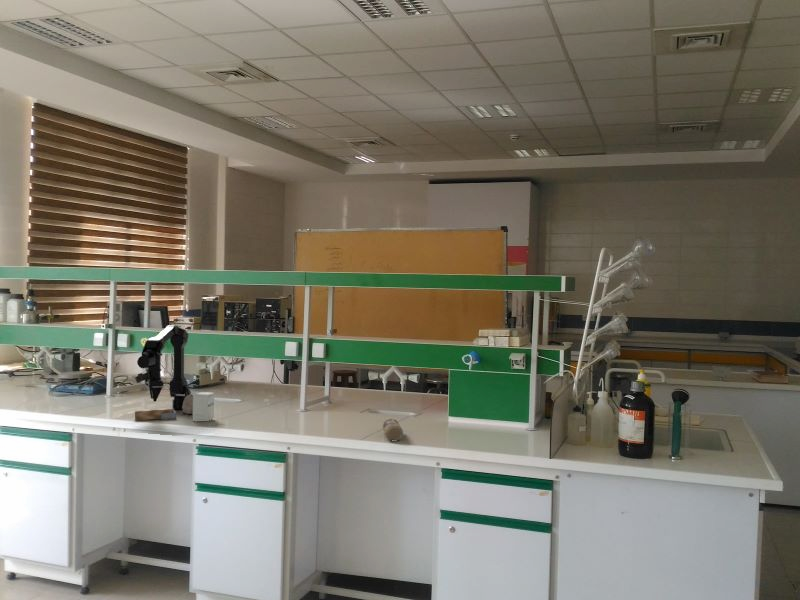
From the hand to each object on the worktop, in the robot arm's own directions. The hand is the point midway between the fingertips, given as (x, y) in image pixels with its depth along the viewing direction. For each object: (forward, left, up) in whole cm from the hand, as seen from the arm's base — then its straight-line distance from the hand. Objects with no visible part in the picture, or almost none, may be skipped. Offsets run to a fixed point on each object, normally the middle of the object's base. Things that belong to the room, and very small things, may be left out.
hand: (153, 399), depth 338 cm
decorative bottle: (-89, +71, -9) cm, 115 cm away
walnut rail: (0, 0, -8) cm, 9 cm away
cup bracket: (-6, 0, -9) cm, 11 cm away
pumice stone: (-21, -6, -9) cm, 23 cm away
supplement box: (-21, +11, -9) cm, 25 cm away
